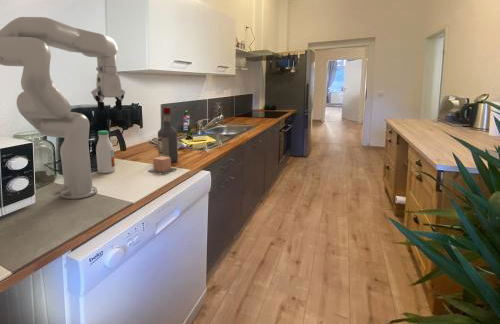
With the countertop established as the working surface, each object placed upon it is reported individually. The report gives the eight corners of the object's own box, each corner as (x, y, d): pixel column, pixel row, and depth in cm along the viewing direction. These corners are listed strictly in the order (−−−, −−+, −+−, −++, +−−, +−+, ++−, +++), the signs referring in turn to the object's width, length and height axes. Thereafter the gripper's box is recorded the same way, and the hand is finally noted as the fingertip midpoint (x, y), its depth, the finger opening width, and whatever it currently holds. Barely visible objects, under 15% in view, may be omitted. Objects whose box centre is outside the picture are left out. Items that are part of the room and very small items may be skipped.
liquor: (170, 158, 181) (169, 106, 173) (180, 161, 175) (178, 108, 168) (156, 160, 174) (154, 107, 167) (166, 164, 168) (164, 108, 161)
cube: (163, 171, 151) (162, 159, 150) (153, 170, 154) (153, 158, 152) (171, 168, 157) (170, 157, 155) (161, 167, 159) (161, 156, 158)
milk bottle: (108, 174, 146) (105, 132, 141) (94, 172, 148) (90, 131, 143) (118, 170, 154) (115, 130, 149) (104, 168, 155) (101, 129, 150)
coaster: (164, 174, 149) (164, 173, 149) (148, 171, 153) (147, 170, 153) (176, 169, 158) (176, 168, 158) (161, 167, 162) (161, 165, 162)
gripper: (96, 69, 125) (100, 112, 129) (128, 72, 140) (131, 109, 145) (83, 69, 128) (87, 111, 132) (116, 71, 143) (119, 108, 148)
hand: (110, 110), depth 138 cm, fingers open, 9 cm apart
